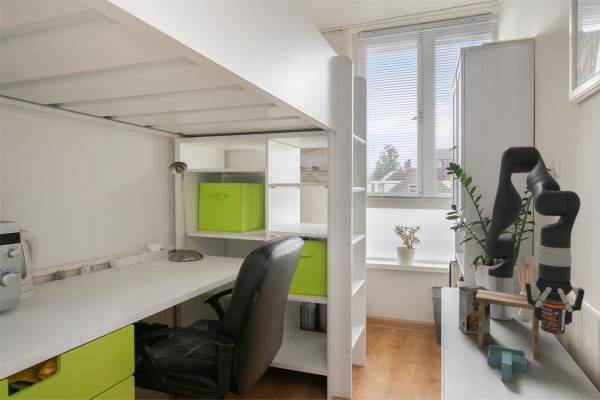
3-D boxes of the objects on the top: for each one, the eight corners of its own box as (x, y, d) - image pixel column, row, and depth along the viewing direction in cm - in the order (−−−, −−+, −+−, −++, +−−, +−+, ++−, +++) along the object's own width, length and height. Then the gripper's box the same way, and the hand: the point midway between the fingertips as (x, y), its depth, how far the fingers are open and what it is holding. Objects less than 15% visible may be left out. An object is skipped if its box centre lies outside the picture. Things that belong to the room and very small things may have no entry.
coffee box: (481, 327, 145) (482, 285, 145) (490, 334, 139) (491, 290, 138) (457, 327, 145) (458, 285, 144) (465, 334, 139) (466, 290, 138)
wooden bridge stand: (477, 336, 137) (478, 289, 136) (539, 347, 128) (540, 297, 127) (474, 347, 127) (475, 297, 127) (541, 360, 118) (543, 306, 117)
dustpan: (489, 351, 124) (489, 336, 124) (525, 358, 119) (525, 342, 119) (485, 376, 107) (486, 359, 107) (527, 386, 103) (528, 368, 102)
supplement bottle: (537, 331, 106) (538, 291, 106) (542, 325, 111) (543, 286, 110) (563, 337, 102) (564, 295, 102) (566, 330, 107) (568, 290, 106)
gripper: (584, 262, 105) (582, 322, 106) (524, 257, 112) (522, 313, 113) (589, 267, 99) (586, 331, 99) (524, 262, 106) (523, 321, 106)
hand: (552, 321), depth 106 cm, fingers closed on supplement bottle, 6 cm apart
